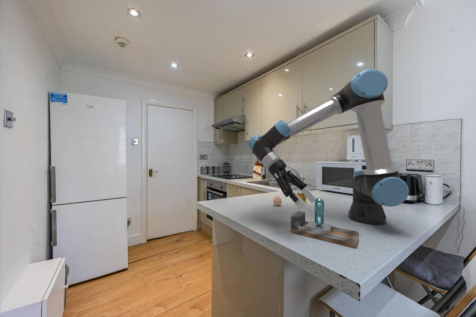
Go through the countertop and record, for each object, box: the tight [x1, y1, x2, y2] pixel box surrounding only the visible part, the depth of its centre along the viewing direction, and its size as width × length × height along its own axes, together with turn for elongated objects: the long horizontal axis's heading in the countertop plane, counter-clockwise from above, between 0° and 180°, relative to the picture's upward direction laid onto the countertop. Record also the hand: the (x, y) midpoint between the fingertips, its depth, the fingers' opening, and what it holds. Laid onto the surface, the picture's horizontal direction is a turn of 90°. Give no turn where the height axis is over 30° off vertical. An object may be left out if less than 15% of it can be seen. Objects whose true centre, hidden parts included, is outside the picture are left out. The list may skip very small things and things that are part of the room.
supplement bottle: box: [296, 188, 307, 205], centre depth 120 cm, size 6×6×10 cm
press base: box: [290, 210, 360, 249], centre depth 73 cm, size 22×8×6 cm, turn 54°
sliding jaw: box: [306, 197, 333, 233], centre depth 73 cm, size 8×7×12 cm
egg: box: [272, 195, 283, 207], centre depth 117 cm, size 5×5×6 cm
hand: (309, 204), depth 75 cm, fingers open, 13 cm apart
